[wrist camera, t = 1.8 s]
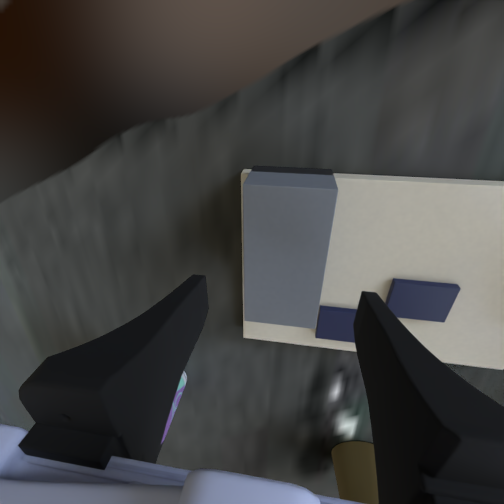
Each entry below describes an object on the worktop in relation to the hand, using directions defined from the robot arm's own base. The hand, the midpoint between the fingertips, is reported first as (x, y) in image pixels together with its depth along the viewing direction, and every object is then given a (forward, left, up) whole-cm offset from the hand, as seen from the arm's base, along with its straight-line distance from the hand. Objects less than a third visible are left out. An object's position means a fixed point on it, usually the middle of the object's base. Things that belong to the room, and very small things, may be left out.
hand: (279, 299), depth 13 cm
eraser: (0, 0, -6) cm, 6 cm away
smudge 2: (-5, +7, -6) cm, 11 cm away
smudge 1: (-9, +4, -6) cm, 12 cm away
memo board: (-7, +3, -7) cm, 11 cm away
